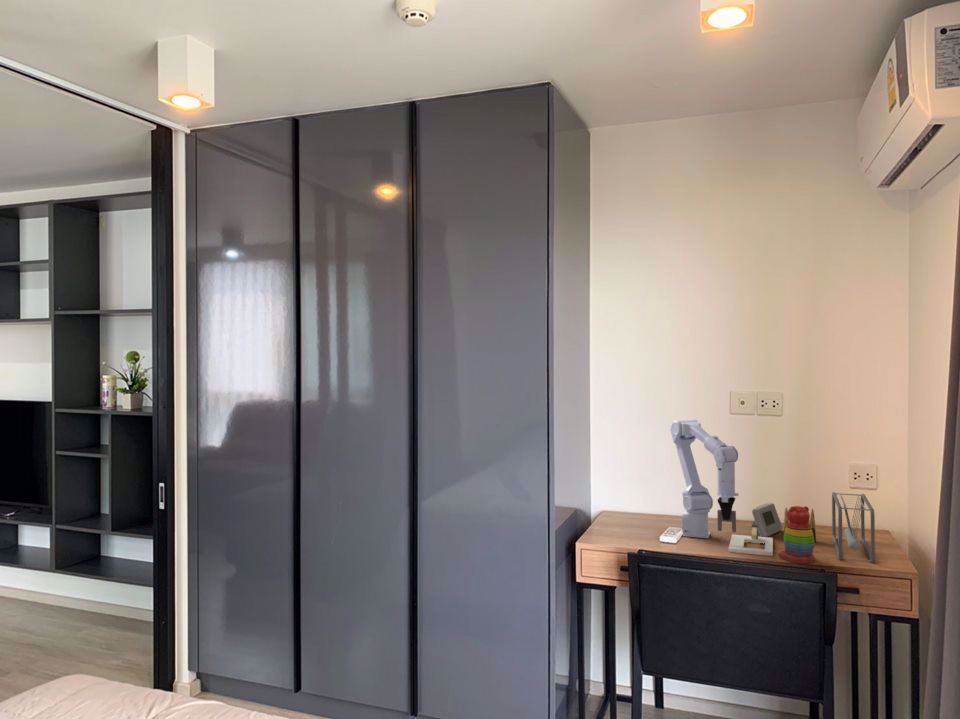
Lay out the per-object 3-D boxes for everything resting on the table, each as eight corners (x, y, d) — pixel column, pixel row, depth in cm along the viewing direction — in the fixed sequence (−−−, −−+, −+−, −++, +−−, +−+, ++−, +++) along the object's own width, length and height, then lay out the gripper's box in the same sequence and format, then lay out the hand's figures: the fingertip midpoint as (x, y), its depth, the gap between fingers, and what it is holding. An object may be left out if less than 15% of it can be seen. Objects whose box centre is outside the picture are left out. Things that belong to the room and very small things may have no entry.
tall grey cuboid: (717, 530, 247) (717, 511, 247) (718, 529, 249) (718, 509, 249) (735, 532, 244) (735, 512, 244) (736, 530, 246) (735, 510, 246)
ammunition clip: (784, 540, 254) (783, 507, 254) (783, 539, 256) (783, 506, 256) (816, 542, 251) (815, 509, 251) (815, 541, 253) (814, 508, 253)
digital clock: (763, 539, 256) (763, 510, 256) (742, 534, 264) (742, 506, 264) (790, 532, 265) (789, 505, 265) (769, 528, 272) (768, 501, 272)
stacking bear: (808, 554, 236) (807, 502, 236) (822, 563, 226) (821, 509, 225) (776, 555, 236) (775, 502, 236) (788, 564, 226) (788, 509, 226)
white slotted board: (728, 551, 240) (728, 534, 240) (732, 537, 259) (731, 521, 259) (772, 556, 235) (772, 537, 235) (772, 541, 253) (772, 524, 253)
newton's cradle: (832, 538, 256) (831, 490, 256) (864, 541, 252) (864, 492, 251) (838, 561, 228) (838, 507, 228) (875, 564, 224) (874, 510, 224)
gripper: (736, 484, 238) (737, 524, 238) (739, 477, 251) (740, 515, 251) (715, 483, 241) (715, 522, 241) (719, 476, 254) (719, 513, 254)
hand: (726, 518), depth 246 cm, fingers closed on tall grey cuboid, 2 cm apart
